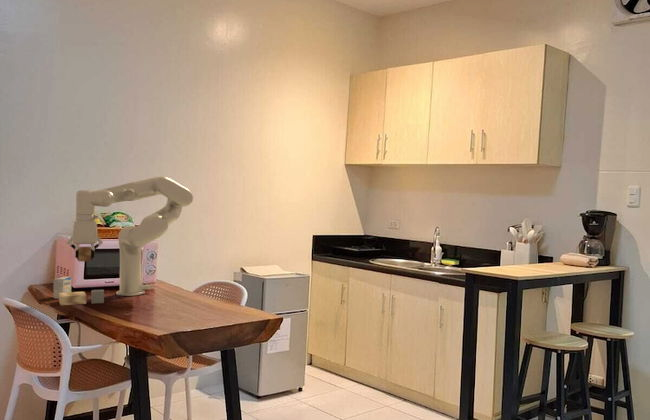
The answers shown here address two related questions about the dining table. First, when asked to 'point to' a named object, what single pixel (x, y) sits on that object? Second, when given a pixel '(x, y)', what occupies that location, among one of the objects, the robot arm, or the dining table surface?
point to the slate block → (97, 296)
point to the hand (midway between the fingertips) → (84, 258)
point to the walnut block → (84, 253)
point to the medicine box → (62, 286)
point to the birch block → (72, 298)
